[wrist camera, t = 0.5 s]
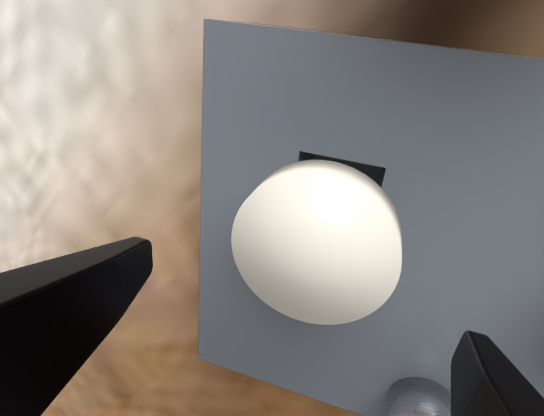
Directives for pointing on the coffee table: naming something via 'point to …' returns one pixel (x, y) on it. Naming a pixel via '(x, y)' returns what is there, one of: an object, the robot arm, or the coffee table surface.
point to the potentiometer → (418, 398)
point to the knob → (319, 242)
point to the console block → (400, 189)
